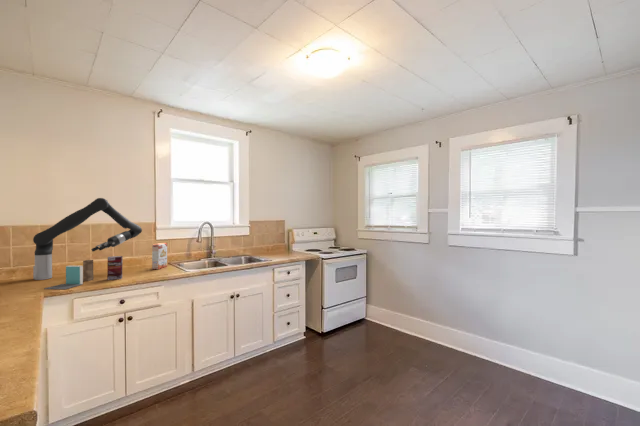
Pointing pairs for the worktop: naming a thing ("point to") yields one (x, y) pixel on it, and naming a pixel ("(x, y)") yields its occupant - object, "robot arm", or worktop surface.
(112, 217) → the robot arm
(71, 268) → the teal book
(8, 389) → the worktop surface
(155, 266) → the cracker box
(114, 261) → the supplement box
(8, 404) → the worktop surface
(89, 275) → the walnut block
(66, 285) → the mat
